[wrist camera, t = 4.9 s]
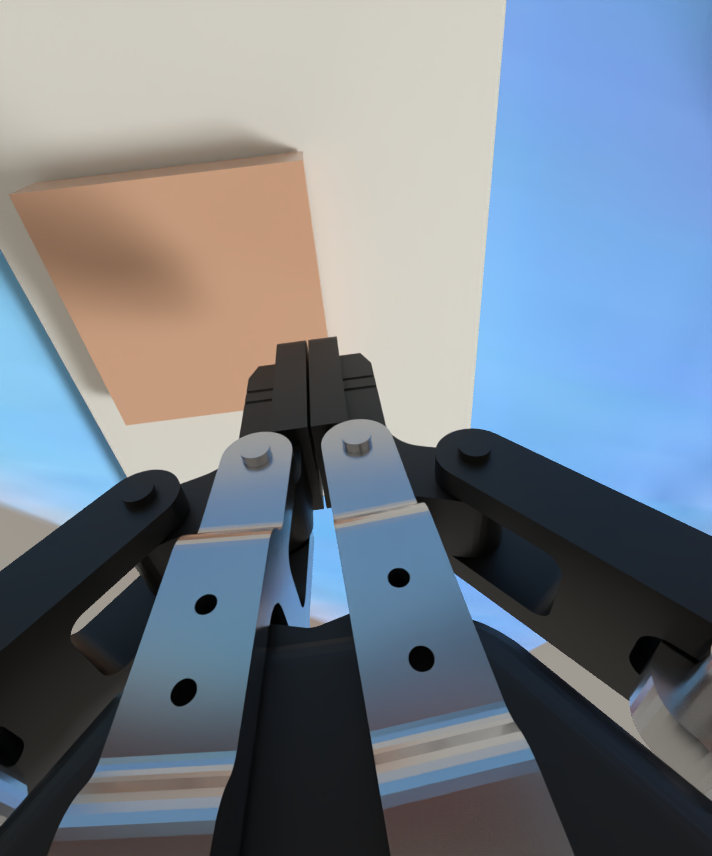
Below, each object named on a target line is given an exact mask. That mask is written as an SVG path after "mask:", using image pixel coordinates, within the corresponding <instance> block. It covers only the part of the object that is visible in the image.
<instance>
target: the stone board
mask: <svg viewBox="0 0 712 856" xmlns="http://www.w3.org/2000/svg"><path fill="white" fill-rule="evenodd" d="M505 11H506V0H0V249H1V251H2V253H3V255H4V256H5V258H6V260H7V262H8V264H9V265H10V267H11V269H12V271H13V273H14V274H15V276H16V278H17V280H18V282H19V283H20V285H21V287H22V289H23V291H24V292H25V294H26V296H27V298H28V300H29V301H30V303H31V305H32V307H33V309H34V310H35V312H36V314H37V316H38V318H39V319H40V321H41V323H42V325H43V327H44V328H45V330H46V332H47V334H48V336H49V337H50V339H51V341H52V343H53V345H54V346H55V348H56V350H57V352H58V354H59V355H60V357H61V359H62V361H63V363H64V364H65V366H66V368H67V370H68V372H69V373H70V375H71V377H72V379H73V381H74V382H75V384H76V386H77V388H78V390H79V391H80V393H81V395H82V397H83V399H84V400H85V402H86V404H87V406H88V408H89V409H90V411H91V413H92V415H93V417H94V418H95V420H96V422H97V424H98V426H99V427H100V429H101V431H102V433H103V435H104V436H105V438H106V440H107V442H108V444H109V445H110V447H111V449H112V451H113V453H114V454H115V456H116V458H117V460H118V462H119V463H120V465H121V467H122V469H123V471H124V472H125V474H126V476H127V477H129V476H131V475H134V474H136V473H139V472H142V471H147V470H155V469H156V470H166V471H169V472H171V473H173V474H174V475H175V476H176V477H177V478H178V480H179V482H180V484H182V483H184V482H187V481H190V480H193V479H195V478H198V477H201V476H203V475H206V474H208V473H211V472H212V471H214V470H216V469H218V467H219V463H220V460H221V457H222V455H223V453H224V451H225V450H226V449H227V448H228V446H229V445H231V444H232V443H233V442H235V441H236V440H238V439H239V435H240V429H241V423H242V416H243V411H236V412H228V413H220V414H212V415H205V416H197V417H189V418H181V419H173V420H165V421H157V422H149V423H141V424H134V425H125V423H124V421H123V419H122V417H121V415H120V413H119V411H118V409H117V407H116V405H115V403H114V401H113V399H112V397H111V395H110V393H109V391H108V389H107V387H106V385H105V383H104V381H103V379H102V377H101V375H100V373H99V371H98V369H97V367H96V366H95V364H94V362H93V360H92V358H91V356H90V354H89V352H88V350H87V348H86V346H85V344H84V342H83V340H82V338H81V336H80V334H79V332H78V330H77V328H76V326H75V324H74V322H73V320H72V318H71V316H70V314H69V312H68V310H67V308H66V307H65V305H64V303H63V301H62V299H61V297H60V295H59V293H58V291H57V289H56V287H55V285H54V283H53V281H52V279H51V277H50V275H49V273H48V271H47V269H46V267H45V265H44V263H43V261H42V259H41V257H40V255H39V253H38V251H37V249H36V248H35V246H34V244H33V242H32V240H31V238H30V236H29V234H28V232H27V230H26V228H25V226H24V224H23V222H22V220H21V218H20V216H19V214H18V212H17V210H16V208H15V206H14V204H13V202H12V200H11V198H10V196H9V194H11V193H13V192H15V191H17V190H20V189H22V188H24V187H26V186H28V185H30V184H33V183H35V182H43V181H51V180H60V179H69V178H77V177H86V176H94V175H103V174H111V173H120V172H129V171H137V170H146V169H154V168H163V167H171V166H180V165H188V164H197V163H206V162H214V161H223V160H231V159H240V158H248V157H257V156H266V155H274V154H283V153H291V152H300V151H303V157H304V164H305V172H306V179H307V186H308V193H309V200H310V208H311V215H312V222H313V229H314V236H315V244H316V251H317V258H318V265H319V272H320V280H321V287H322V294H323V301H324V308H325V316H326V323H327V330H328V337H334V336H337V342H338V349H339V356H340V355H348V354H355V353H361V354H362V355H363V356H364V357H365V358H367V359H368V360H369V361H370V362H371V364H372V369H373V373H374V377H375V381H376V386H377V390H378V394H379V398H380V402H381V407H382V411H383V415H384V419H385V424H386V427H387V428H388V429H389V431H390V432H391V434H392V435H393V436H395V437H396V438H397V439H399V440H401V441H403V442H406V443H408V444H412V445H418V446H426V447H436V446H437V444H438V442H439V441H440V440H441V439H442V438H443V437H444V436H445V435H447V434H449V433H451V432H453V431H457V430H461V429H470V426H471V414H472V402H473V390H474V378H475V366H476V354H477V343H478V331H479V319H480V307H481V295H482V283H483V271H484V260H485V248H486V236H487V224H488V212H489V200H490V189H491V177H492V165H493V153H494V141H495V129H496V117H497V106H498V94H499V82H500V70H501V58H502V46H503V34H504V23H505ZM323 496H324V491H323Z"/></svg>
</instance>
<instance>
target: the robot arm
mask: <svg viewBox="0 0 712 856" xmlns="http://www.w3.org/2000/svg"><path fill="white" fill-rule="evenodd" d="M323 491H324V496H325V501H326V506H327V508H332V512H333V518H334V526H335V532H336V538H337V544H338V549H339V555H340V561H341V567H342V573H343V578H344V584H345V590H346V596H347V602H348V608H349V613H350V614H348V615H345V616H343V617H340V618H338V619H335V620H333V621H330V622H328V623H325V624H323V625H320V626H317V627H313V628H310V599H311V583H312V567H313V551H314V536H313V532H312V529H313V510H319V509H324V501H323ZM134 567H136V569H137V570H138V572H139V573H140V576H139V577H138V578H137V579H136V580H135V581H133V583H131V584H130V585H129V586H128V587H127V588H126V589H125V590H124V591H123V592H122V593H121V594H120V595H118V596H117V597H116V598H115V599H114V600H113V601H112V602H111V603H110V604H109V605H108V606H106V607H105V608H104V609H103V610H102V611H101V612H100V613H99V614H98V615H97V616H96V617H95V618H93V619H92V620H91V621H90V622H89V623H88V624H87V625H86V626H85V627H84V628H83V629H81V630H80V631H79V632H77V633H75V634H72V635H71V631H72V628H73V626H74V624H75V622H76V621H77V619H78V618H79V617H80V616H81V615H82V613H84V612H85V611H86V610H87V609H88V608H89V607H90V606H91V605H92V604H94V603H95V602H96V601H97V600H98V599H99V598H100V597H101V596H103V595H104V594H105V593H106V592H107V591H108V590H109V589H110V588H111V587H113V586H114V585H115V584H116V583H117V582H118V581H119V580H120V579H121V578H122V577H123V576H125V575H126V574H127V573H128V572H129V571H130V570H131V569H132V568H134ZM454 573H455V574H456V575H457V576H459V577H460V578H461V579H463V580H464V581H466V582H467V583H468V584H470V585H471V586H472V587H474V588H475V589H477V590H478V591H479V592H481V593H482V594H483V595H485V596H486V597H487V598H489V599H490V600H492V601H493V602H494V603H496V604H497V605H498V606H500V607H501V608H503V609H504V610H505V611H507V612H508V613H509V614H511V615H512V616H514V617H515V618H516V619H518V620H519V621H520V622H522V623H523V624H524V625H526V626H527V627H529V628H530V629H531V630H533V631H534V632H535V633H537V634H538V635H540V636H541V637H542V638H544V639H545V640H546V641H548V642H549V643H551V644H552V645H553V646H555V647H556V648H558V649H559V650H560V651H561V652H563V653H564V654H566V655H567V656H568V657H570V658H571V659H573V660H574V661H575V662H577V663H578V664H579V665H581V666H582V667H583V668H585V669H586V670H588V671H589V672H590V673H592V674H593V675H594V676H596V677H597V678H598V679H600V680H601V681H603V682H604V683H605V684H607V685H608V686H609V687H611V688H612V689H614V690H615V691H616V692H618V693H619V694H621V695H622V696H623V697H625V698H626V699H627V700H629V701H630V711H631V716H632V719H633V721H634V724H635V726H636V728H637V730H638V732H639V734H640V736H641V737H642V739H643V740H644V742H645V743H646V744H647V745H648V747H649V748H650V750H651V751H652V752H653V753H652V752H651V751H650V750H649V749H647V748H646V747H645V746H644V745H643V744H641V743H640V742H639V741H637V740H636V739H635V738H634V737H633V736H631V735H630V734H629V733H628V732H627V731H625V730H624V729H623V728H622V727H620V726H619V725H618V724H617V723H615V722H614V721H613V720H612V719H611V718H609V717H608V716H607V715H606V714H604V713H603V712H602V711H601V710H599V709H598V708H597V707H596V706H595V705H593V704H592V703H591V702H590V701H588V700H587V699H586V698H585V697H583V696H582V695H581V694H580V693H578V692H577V691H576V690H575V689H574V688H572V687H571V686H570V685H569V684H567V683H566V682H565V681H564V680H563V679H561V678H560V677H559V676H558V675H556V674H555V673H554V672H553V671H551V670H550V669H549V668H547V666H545V665H544V664H543V663H541V662H540V661H539V660H538V659H537V658H535V657H534V656H533V655H531V653H529V652H528V651H527V650H526V649H524V648H523V647H522V646H520V645H519V644H518V643H517V642H515V641H514V640H512V639H511V638H509V637H507V636H506V635H504V634H503V633H501V632H499V631H497V630H495V629H493V628H491V627H489V626H487V625H485V624H483V623H480V622H477V621H474V620H472V618H471V615H470V613H469V610H468V608H467V605H466V603H465V600H464V598H463V595H462V592H461V590H460V587H459V585H458V582H457V580H456V577H455V575H454ZM0 856H712V536H710V535H708V534H706V533H704V532H702V531H700V530H697V529H695V528H693V527H691V526H689V525H687V524H685V523H683V522H681V521H678V520H676V519H674V518H672V517H670V516H668V515H666V514H664V513H662V512H660V511H657V510H655V509H653V508H651V507H649V506H647V505H645V504H643V503H641V502H638V501H636V500H634V499H632V498H630V497H628V496H626V495H624V494H622V493H620V492H617V491H615V490H613V489H611V488H609V487H607V486H605V485H603V484H601V483H598V482H596V481H594V480H592V479H590V478H588V477H586V476H584V475H582V474H579V473H577V472H575V471H573V470H571V469H569V468H567V467H565V466H563V465H561V464H558V463H556V462H554V461H552V460H550V459H548V458H546V457H544V456H542V455H539V454H537V453H535V452H533V451H531V450H529V449H527V448H525V447H523V446H520V445H518V444H516V443H514V442H512V441H510V440H508V439H506V438H504V437H502V436H499V435H497V434H495V433H493V432H490V431H486V430H482V429H461V430H457V431H453V432H451V433H449V434H447V435H445V436H444V437H443V438H442V439H441V440H440V441H439V442H438V444H437V446H436V447H426V446H418V445H412V444H408V443H406V442H403V441H401V440H399V439H397V438H396V437H395V436H393V435H392V434H391V432H390V431H389V429H388V428H387V427H386V424H385V419H384V415H383V411H382V407H381V402H380V398H379V394H378V390H377V386H376V381H375V377H374V373H373V369H372V364H371V362H370V361H369V360H368V359H367V358H365V357H364V356H363V355H362V354H361V353H355V354H348V355H340V356H339V349H338V342H337V336H334V337H327V338H319V339H311V340H308V346H307V342H306V340H304V341H297V342H289V343H281V344H277V348H276V360H275V364H272V365H265V366H259V367H258V368H257V369H256V370H255V371H254V373H253V374H252V375H251V376H250V378H249V379H248V385H247V394H246V398H245V405H244V410H243V416H242V423H241V429H240V435H239V439H238V440H236V441H235V442H233V443H232V444H231V445H229V446H228V448H227V449H226V450H225V451H224V453H223V455H222V457H221V460H220V463H219V467H218V469H216V470H214V471H212V472H211V473H208V474H206V475H203V476H201V477H198V478H195V479H193V480H190V481H187V482H184V483H182V484H180V482H179V480H178V478H177V477H176V476H175V475H174V474H173V473H171V472H169V471H166V470H156V469H155V470H147V471H142V472H139V473H136V474H134V475H131V476H129V477H127V478H125V479H124V480H122V481H121V482H119V483H118V484H116V485H115V486H114V487H112V488H111V489H110V490H108V491H107V492H106V493H104V494H103V495H102V496H100V497H99V498H98V499H96V500H95V501H94V502H92V503H91V504H90V505H88V506H87V507H86V508H84V509H83V510H82V511H80V512H79V513H78V514H76V515H75V516H74V517H72V518H71V519H70V520H68V521H67V522H65V523H64V524H63V525H61V526H60V527H59V528H57V529H56V530H55V531H53V532H52V533H51V534H50V535H48V536H47V537H45V538H44V539H43V540H41V541H40V542H39V543H38V544H36V545H35V546H34V547H32V548H31V549H29V550H28V551H27V552H25V553H24V554H23V555H21V556H20V557H19V558H18V559H16V560H15V561H13V562H12V563H11V564H9V565H8V566H7V567H5V568H4V569H3V570H1V571H0Z"/></svg>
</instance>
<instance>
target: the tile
mask: <svg viewBox="0 0 712 856" xmlns="http://www.w3.org/2000/svg"><path fill="white" fill-rule="evenodd" d="M9 196H10V198H11V200H12V202H13V204H14V206H15V208H16V210H17V212H18V214H19V216H20V218H21V220H22V222H23V224H24V226H25V228H26V230H27V232H28V234H29V236H30V238H31V240H32V242H33V244H34V246H35V248H36V249H37V251H38V253H39V255H40V257H41V259H42V261H43V263H44V265H45V267H46V269H47V271H48V273H49V275H50V277H51V279H52V281H53V283H54V285H55V287H56V289H57V291H58V293H59V295H60V297H61V299H62V301H63V303H64V305H65V307H66V308H67V310H68V312H69V314H70V316H71V318H72V320H73V322H74V324H75V326H76V328H77V330H78V332H79V334H80V336H81V338H82V340H83V342H84V344H85V346H86V348H87V350H88V352H89V354H90V356H91V358H92V360H93V362H94V364H95V366H96V367H97V369H98V371H99V373H100V375H101V377H102V379H103V381H104V383H105V385H106V387H107V389H108V391H109V393H110V395H111V397H112V399H113V401H114V403H115V405H116V407H117V409H118V411H119V413H120V415H121V417H122V419H123V421H124V423H125V425H134V424H141V423H149V422H157V421H165V420H173V419H181V418H189V417H197V416H205V415H212V414H220V413H228V412H236V411H243V410H244V405H245V398H246V394H247V385H248V379H249V378H250V376H251V375H252V374H253V373H254V371H255V370H256V369H257V368H258V367H259V366H265V365H272V364H275V360H276V348H277V344H281V343H289V342H297V341H304V340H306V342H307V346H308V340H311V339H319V338H327V337H328V330H327V323H326V316H325V308H324V301H323V294H322V287H321V280H320V272H319V265H318V258H317V251H316V244H315V236H314V229H313V222H312V215H311V208H310V200H309V193H308V186H307V179H306V172H305V164H304V157H303V151H300V152H291V153H283V154H274V155H266V156H257V157H248V158H240V159H231V160H223V161H214V162H206V163H197V164H188V165H180V166H171V167H163V168H154V169H146V170H137V171H129V172H120V173H111V174H103V175H94V176H86V177H77V178H69V179H60V180H51V181H43V182H35V183H33V184H30V185H28V186H26V187H24V188H22V189H20V190H17V191H15V192H13V193H11V194H9Z"/></svg>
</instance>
